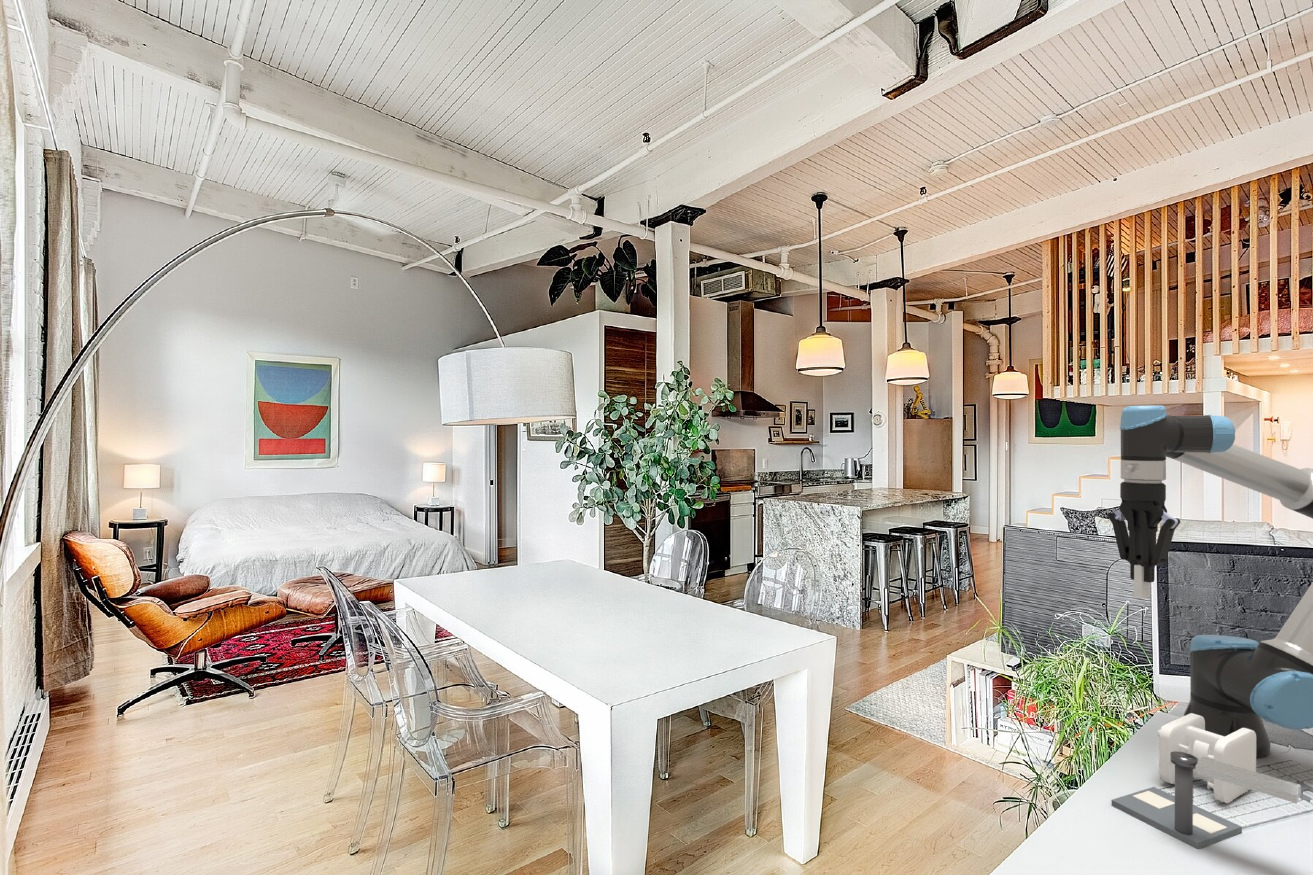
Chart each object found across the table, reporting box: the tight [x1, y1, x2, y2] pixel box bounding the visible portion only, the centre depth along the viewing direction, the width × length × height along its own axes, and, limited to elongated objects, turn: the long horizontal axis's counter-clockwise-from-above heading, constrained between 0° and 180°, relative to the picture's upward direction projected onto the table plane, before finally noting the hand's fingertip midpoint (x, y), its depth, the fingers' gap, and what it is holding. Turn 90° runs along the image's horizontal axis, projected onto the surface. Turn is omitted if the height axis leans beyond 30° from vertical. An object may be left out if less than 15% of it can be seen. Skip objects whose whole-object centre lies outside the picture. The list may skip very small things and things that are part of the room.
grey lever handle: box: [1170, 751, 1302, 804], centre depth 108 cm, size 16×5×1 cm, turn 40°
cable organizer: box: [1157, 713, 1257, 804], centre depth 129 cm, size 15×11×12 cm
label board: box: [1111, 765, 1243, 850], centre depth 118 cm, size 12×14×12 cm
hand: (1142, 596), depth 137 cm, fingers closed
